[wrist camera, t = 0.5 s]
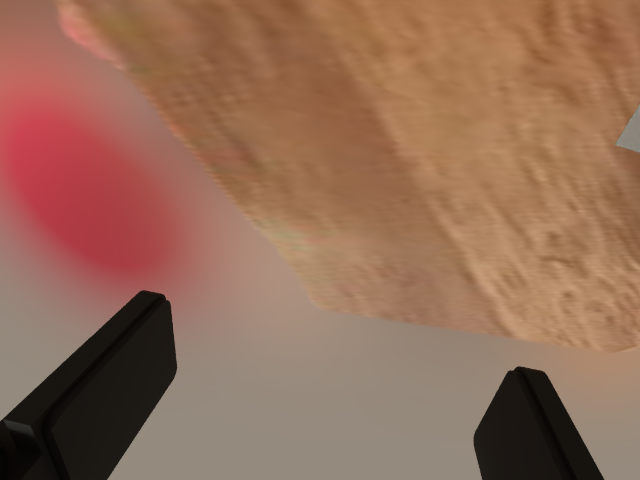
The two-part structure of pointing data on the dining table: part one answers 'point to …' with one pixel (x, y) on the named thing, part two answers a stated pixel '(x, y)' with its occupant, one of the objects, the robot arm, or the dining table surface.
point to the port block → (631, 133)
